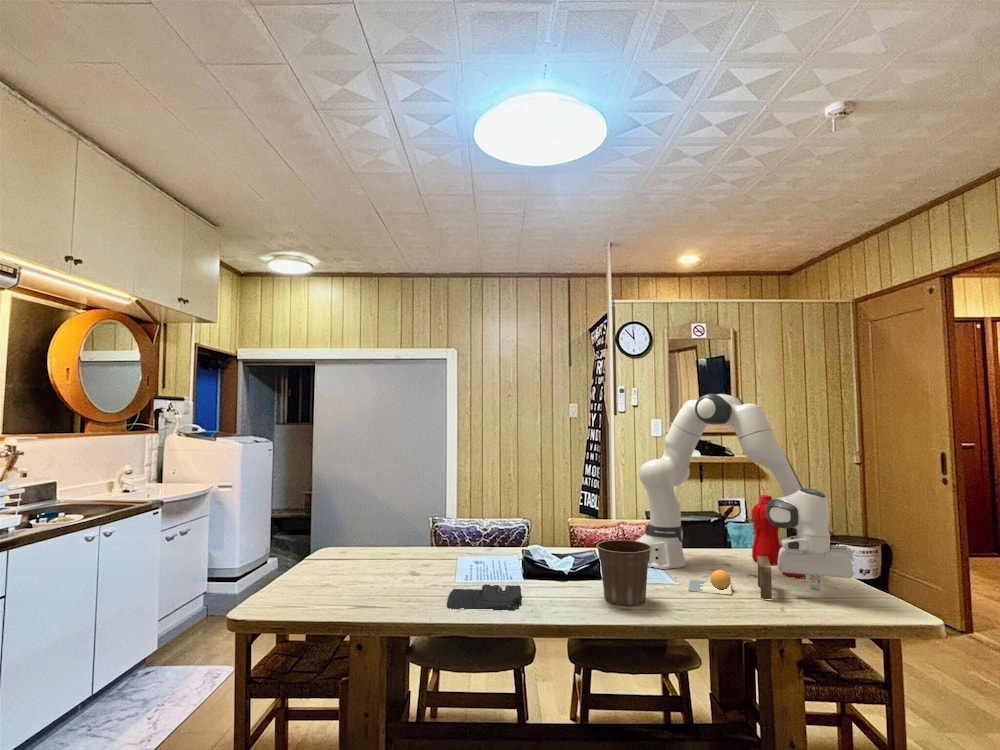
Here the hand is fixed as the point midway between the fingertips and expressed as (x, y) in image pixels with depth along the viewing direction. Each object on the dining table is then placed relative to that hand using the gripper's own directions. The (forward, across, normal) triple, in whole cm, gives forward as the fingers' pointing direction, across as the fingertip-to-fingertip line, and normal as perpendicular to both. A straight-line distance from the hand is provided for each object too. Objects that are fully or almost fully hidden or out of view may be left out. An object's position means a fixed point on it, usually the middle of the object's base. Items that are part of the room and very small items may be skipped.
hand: (814, 589), depth 178 cm
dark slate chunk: (+3, +92, +40) cm, 101 cm away
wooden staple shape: (+3, +14, 0) cm, 14 cm away
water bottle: (+3, +11, -42) cm, 44 cm away
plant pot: (+3, +54, +23) cm, 59 cm away
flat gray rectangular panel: (+3, +30, 0) cm, 30 cm away
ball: (0, +27, +1) cm, 27 cm away
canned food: (+3, +3, -26) cm, 26 cm away
